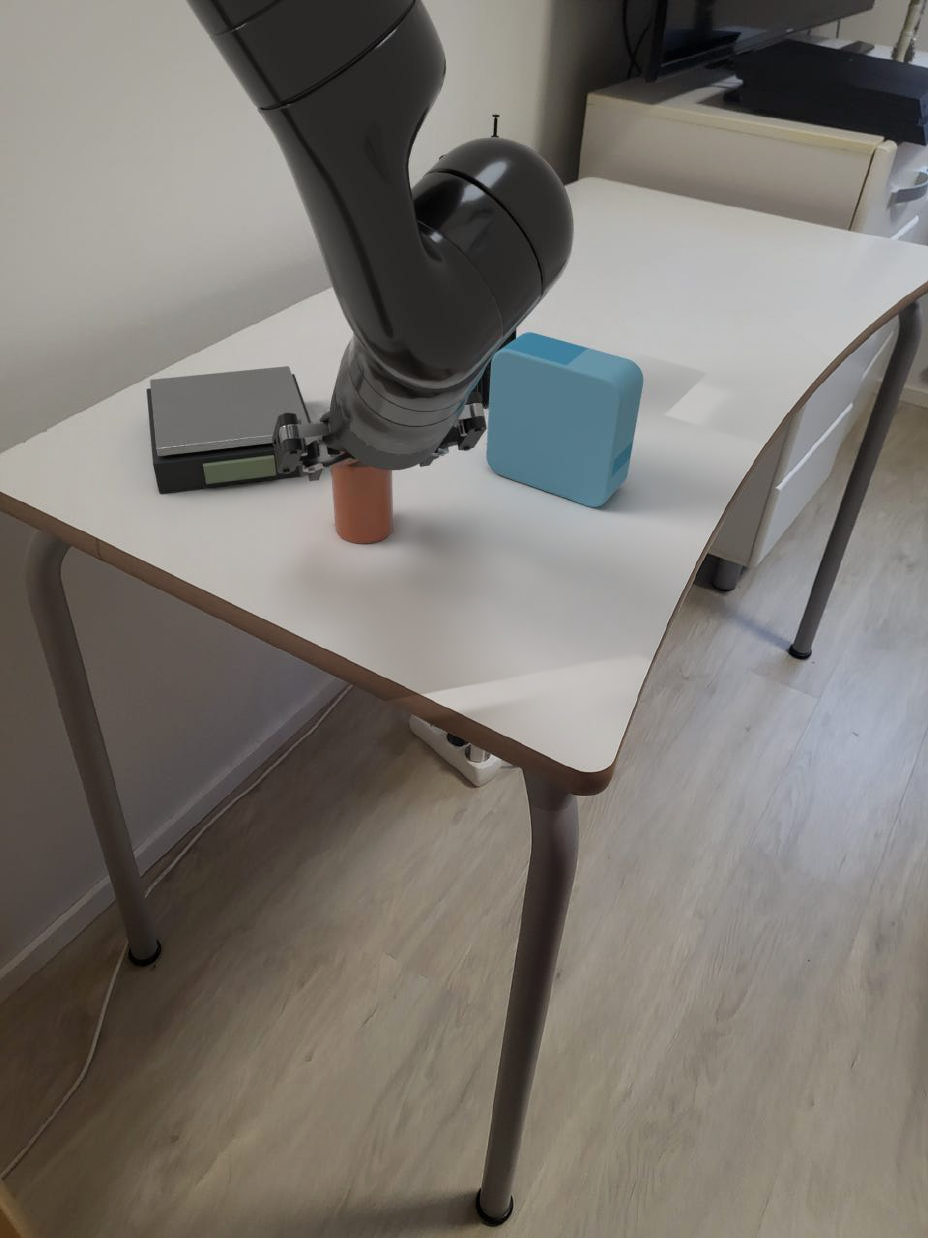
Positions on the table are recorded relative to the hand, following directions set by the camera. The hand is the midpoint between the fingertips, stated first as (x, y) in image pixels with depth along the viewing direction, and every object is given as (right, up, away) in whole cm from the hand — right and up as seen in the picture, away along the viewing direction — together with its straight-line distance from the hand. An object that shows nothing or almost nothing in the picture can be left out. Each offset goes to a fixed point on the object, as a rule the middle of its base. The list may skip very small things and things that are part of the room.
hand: (367, 460), depth 71 cm
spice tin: (-1, -4, +6) cm, 8 cm away
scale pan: (-14, +7, +14) cm, 21 cm away
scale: (-14, +4, +16) cm, 21 cm away
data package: (+16, 0, +13) cm, 20 cm away
